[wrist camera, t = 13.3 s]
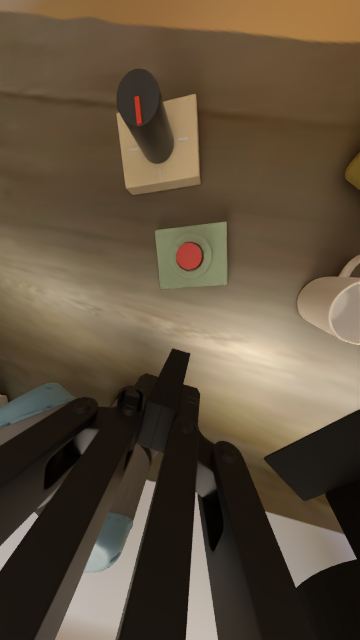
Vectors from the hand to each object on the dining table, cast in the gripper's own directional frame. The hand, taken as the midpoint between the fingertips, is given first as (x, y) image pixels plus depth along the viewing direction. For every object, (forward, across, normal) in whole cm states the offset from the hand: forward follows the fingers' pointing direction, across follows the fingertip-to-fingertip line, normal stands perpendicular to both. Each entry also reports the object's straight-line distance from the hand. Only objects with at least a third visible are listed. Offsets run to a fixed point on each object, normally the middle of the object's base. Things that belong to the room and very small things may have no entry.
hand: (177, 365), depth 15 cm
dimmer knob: (+19, -12, +24) cm, 33 cm away
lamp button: (+19, -3, +10) cm, 21 cm away
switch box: (+22, -3, +10) cm, 24 cm away
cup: (+22, +20, +10) cm, 32 cm away
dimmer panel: (+22, -12, +24) cm, 35 cm away
